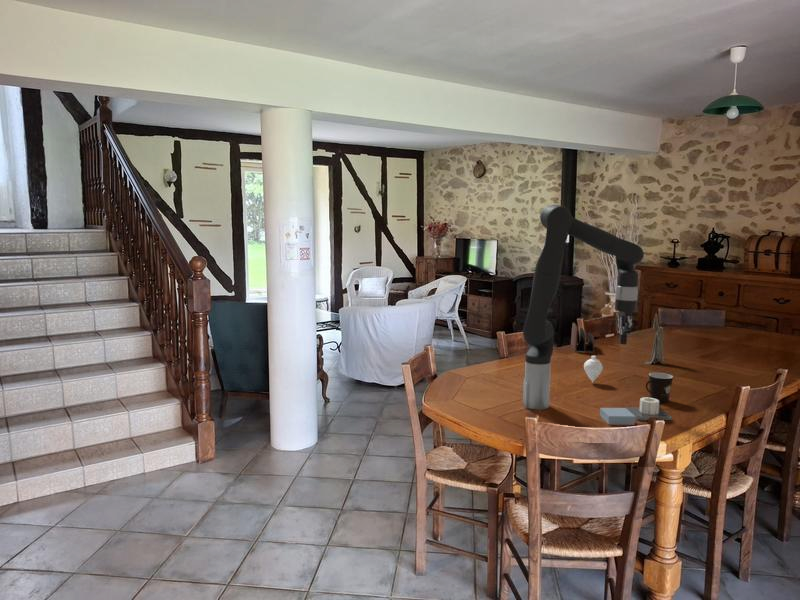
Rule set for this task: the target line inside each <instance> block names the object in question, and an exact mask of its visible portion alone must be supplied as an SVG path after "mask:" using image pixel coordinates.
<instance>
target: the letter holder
mask: <svg viewBox="0 0 800 600" xmlns="http://www.w3.org/2000/svg"><path fill="white" fill-rule="evenodd" d="M578 331H579V332H578ZM578 333H579V342H578ZM594 338H595V337H594V336H593V334H592V333H591V332H588V333H587V334H586V332H585V330H584V329H583V328H582V327H580V328H579V330H578V325H577V324H576V322H572V327H571V337H570V346H571V345H572V346H571V348H572V347H573V348H572V350H573V349H574V350H573V352H574V351H575V352H589V353H588V354H595V339H594ZM586 339H587V343H586ZM577 344H578V345H577ZM575 352H574V353H575Z"/></svg>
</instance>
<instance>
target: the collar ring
mask: <svg viewBox="0 0 800 600" xmlns="http://www.w3.org/2000/svg"><path fill="white" fill-rule="evenodd" d="M639 407H640V409H639V411H640V412H641V413H644V414H650V415H655V414H658V413H659V407H660V403H659V400H657V399H655V398H650V397H647V396H646V397H645V396H644V397H640V399H639Z"/></svg>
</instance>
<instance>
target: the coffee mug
mask: <svg viewBox="0 0 800 600" xmlns="http://www.w3.org/2000/svg"><path fill="white" fill-rule="evenodd" d="M673 379H674V375H672V374H669V373H663V372H649V374H648V380H647V382H646V383H645V389H646V391H647V392H648V393H649V396H650V397H649V398H655V399H657V400H659V404H667V403H668V402H669V401H670V395H671V390H672V384H673V381H674V380H673ZM648 385H649V388H648Z"/></svg>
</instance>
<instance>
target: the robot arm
mask: <svg viewBox="0 0 800 600" xmlns="http://www.w3.org/2000/svg"><path fill="white" fill-rule="evenodd" d="M539 215H540V216H539V219H540V220H539V221H540V223H541V225H542V226H543V227H544V228H545V230H546V233H545V241H544V245H543V248H542V251H541V253H540V255H539V257H538V259H537V261H536V263H535V267H534V273H533V277H532V278H533V279H532V286H531V291H530V292H531V293H530V298H529V304H528V305H529V306H528V310H527V315H526V318H525V321H524V325H523V328H522V335H523V338H524V342H525V343H527V344H528V345H529V348H528V350H527V351H526V353H525V360H524V361H525V362H524V379H523V380H522V381H523V382H522V384H523V385H522V386H523V387H522V405H523V406H524V408H525V409H531V410H538V411H539V410H540V411H541V410H546V409H548V408H549V407H550V383H551V362H552V361H551V358H552V356H553V353H554V352H553V351H554V343H555V341H554V340H555V330H554V326H553V324H552V322H551V321H549V320H548V313H549V310H550V307H551V304H552V302H553V300H554V298H555V296H556V294H557V291H558V289H559V285H560V280H561V274H562V266H563V261H564V255H565V247H566V243H567V239H568V236H571V237H573V238H575V239H577V240H579V241H581V242H583V243H585V244H587V245H589V246H590V247H592V248H595V249H596V250H598V251H600V252H602V253H604V254H607V255H610V256H611V255H612V256H614V257H615V263H616V269H617V270H616V271H617V279H616V280H617V281H616V282H617V283H616V290H615V298H614V299H615V300H614V310H615V311H616V312H618V315H617V316H615V323H616V329H617V332H618V333H619V339H618V340H619V341H618V343H619V344H620V345H627V343H628V335H631V333H632V331H633V329H634V325H635V322H633V316H632V313H635V312H637V306H638V293H639V291H638V285H639V284H638V283H639V272H638V271H637V270H636V269H635V264H639V263H641V262H642V261H643V259H644V256H645V253H644V250H643V249H642V247H641V246H640V245H638V244H636V243H634V242H633V241H632V242H631V241H628V240H625V239H622V238H620V237H618V236H616V235H614V234H612V233H610V232H609V231H607V230H604V229H602V228H600V227H597V226H594V225H592V224H589V223H586V222H583V221H582V220H579V219H577V218H575V217H574V216H573V215H572V212H571V211H570V209H569V208H567V207H566V206H564V205H557V204H551V205H548V206H546V207H544V208H543V209H542V211H541V213H540V214H539Z"/></svg>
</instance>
